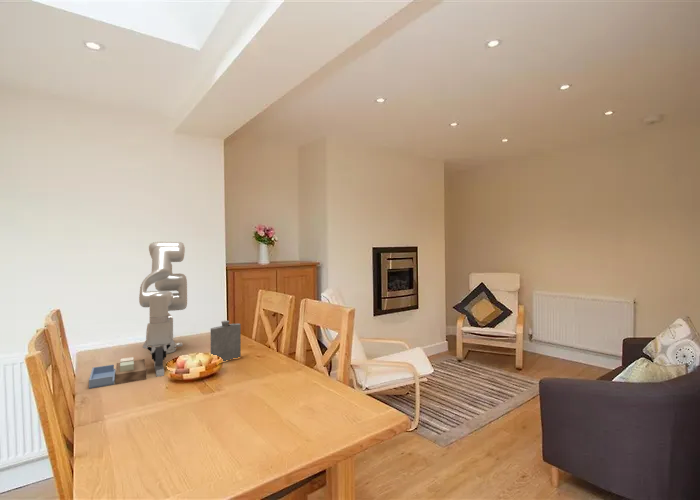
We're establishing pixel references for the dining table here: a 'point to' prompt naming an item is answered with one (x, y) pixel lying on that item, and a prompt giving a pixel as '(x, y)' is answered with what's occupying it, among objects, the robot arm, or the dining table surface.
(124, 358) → the cream tile
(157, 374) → the scraper
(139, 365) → the walnut board
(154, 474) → the dining table surface
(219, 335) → the hip flask
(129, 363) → the sage tile
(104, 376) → the slate blue box
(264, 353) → the dining table surface
